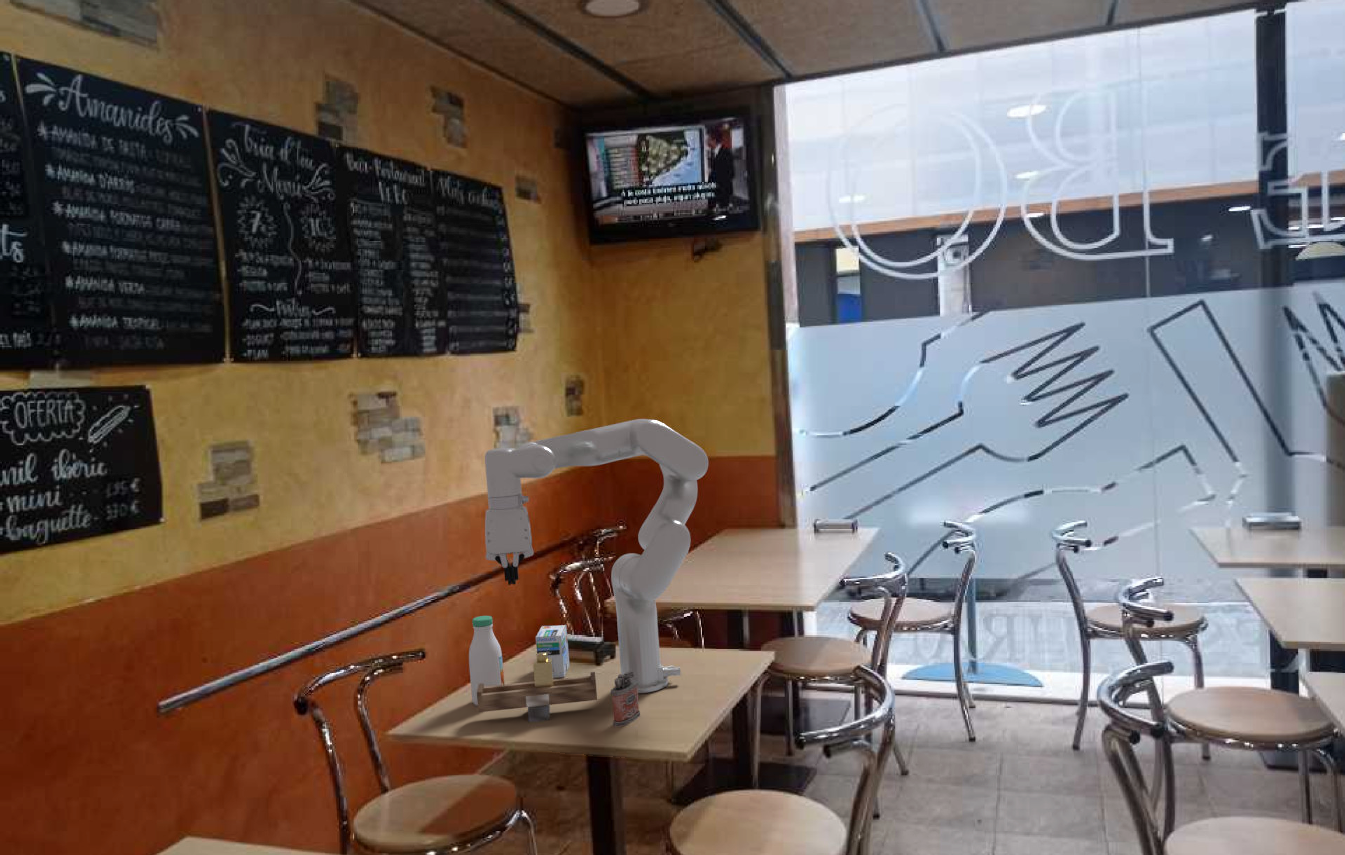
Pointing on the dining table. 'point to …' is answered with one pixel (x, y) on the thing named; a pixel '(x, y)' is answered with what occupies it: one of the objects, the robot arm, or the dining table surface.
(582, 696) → the beam
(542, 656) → the rider
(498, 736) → the dining table surface
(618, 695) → the lighter
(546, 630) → the light bulb box
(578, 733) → the dining table surface
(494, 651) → the milk bottle
